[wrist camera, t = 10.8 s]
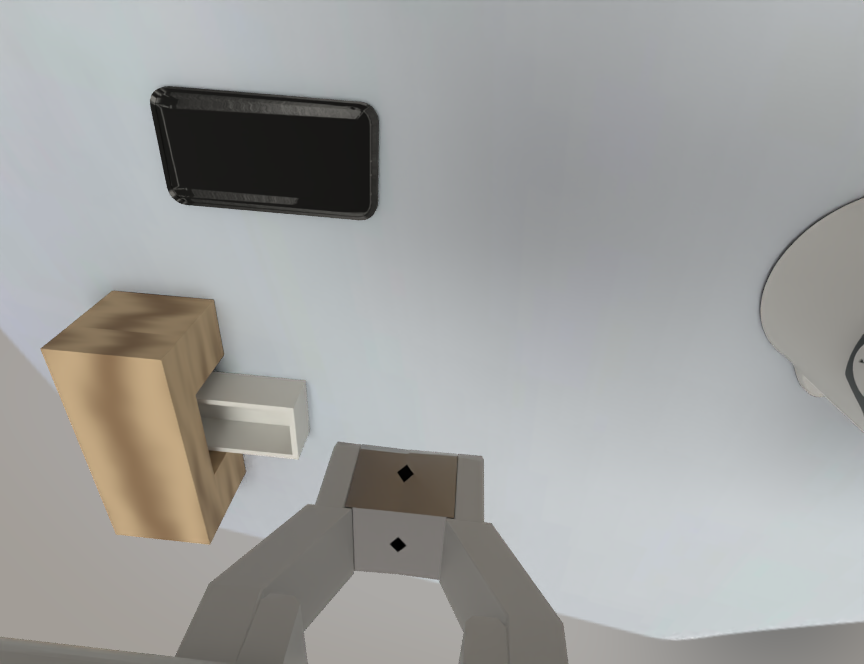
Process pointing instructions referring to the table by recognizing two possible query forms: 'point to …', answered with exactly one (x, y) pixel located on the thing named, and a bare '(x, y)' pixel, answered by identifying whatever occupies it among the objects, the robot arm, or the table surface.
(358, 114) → the phone
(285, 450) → the white drawer
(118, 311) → the overhang dock
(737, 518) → the table surface
